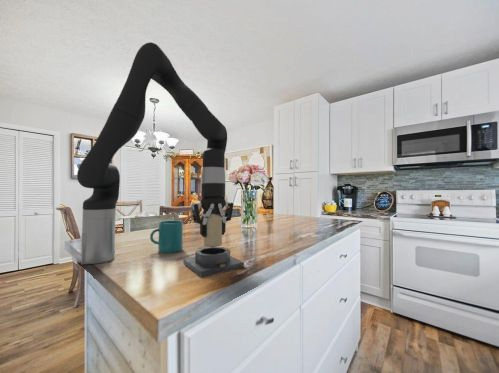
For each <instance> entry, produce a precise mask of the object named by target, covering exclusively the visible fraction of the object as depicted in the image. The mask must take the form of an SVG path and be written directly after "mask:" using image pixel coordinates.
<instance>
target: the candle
mask: <svg viewBox="0 0 499 373" xmlns="http://www.w3.org/2000/svg"><path fill="white" fill-rule="evenodd" d="M206 225H207V236H206V237H203V246H205V247H206V248H208V247H222V244H223V235H222V217H221V216H220V215H219V214H211V215H210V217H209V218H208V220H207V222H206Z"/></svg>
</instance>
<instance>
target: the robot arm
mask: <svg viewBox="0 0 499 373" xmlns="http://www.w3.org/2000/svg"><path fill="white" fill-rule="evenodd" d="M133 59H134V60H133V62H132V65H131V68H130V69H129V73H128V75H127V79H126V81H125V82H124V85H123V88H122V89H121V92H120V94H119V95H118V98H117V99H116V102H115V104H114V105H113V107H112V109H111V110H110V113H109V114H108V116H107V119H106V122H105V124H104V126H103V127H102V129H101V130H100V133H99V134H98V137H97V139H96V140H95V142H94V144H93V145H92V147H91V148H90V150H89V151H88V153H87V154H86V155H85V157H84V158H83V160H82V162H81V164H80V165H79V166H78V170H77V174H76V178H77V182H78V183H79V185H81V187H83V188H86V189H93V190H92V194H91V195H90V196H89V197H88V198H87V199H85V200H84V201H83V202H82V225H81V226H82V227H81V247H80V248H81V253H80V256H81V257H80V265H82V266H83V265H93V264H94V265H95V264H102V263H106V262H109V261H112V260H114V259H115V258H116V257H115V253H116V251H115V250H116V247H115V246H116V214H117V213H116V210H117V209H116V208H117V207H116V206H117V203H118V200H119V196H120V184H121V183H120V182H121V177H120V176H121V174H120V171H119V169H118V167H117V166H116V165H114V164H112V163H111V162H112V160H113V158H114V156H115V155H116V153H117V152H118V151H119V150H120V149H121V148H122V147H123V146H125V145H126V144H127V143H129V142H130V141H131V140H132V139H133V138H134V137H135V136H136V135H137V133H138V131H139V129H140V127H141V126H142V123H143V121H144V119H145V115H146V97H147V95H146V94H147V89H148V86H149V85H150V82H151V80H153V81H154V82H155V83H157V84H158V85H159V86H161V87H162V88H163V90H165V91H167V93H168V94H169V95H170V96H171V97H172V99H173V100H174V102H175V104H176V105H177V106H178V108H179V109H180V110H181V111H182V113H183V114H184V115H185V116H186V118H188V119H189V120H190V121H191V122H192V124H193V126H194V127H195V129H196V130H197V132H198V133H199V135H201V137H203V139H205V140H207V145H206V149H205V150H203V152H202V164H201V165H202V166H201V167H202V170H201V185H200V186H201V187H200V190H201V192H200V194H201V195H200V197H201V199H200V201H199V202H196V203H191V206H190V208H191V211H192V219H193V222H194V223H196V224H198V225H199V234H200V236H201V237H203V238H204V237H206V236H207V225H206V222H207V220H208V218H209V217H210V215H211V214H219V215H220V216H221V217H222V236H224V235H225V233H226V227H227V226H226V225H227V222H229V221H231V220H232V216H233V208H234V203H233V202H229V201H228V202H227V201H226V199H225V197H226V170H225V167H226V165H225V163H226V162H225V161H226V158H225V157H226V156H225V154H226V149H227V144H228V131H227V128H226V126H225V125H224V124H223V123H222V122H221V121H220V120H219V119H218V117H216V116H215V115H214V114H213V113H212V112H211V111H210V110H209V108H208V107H207V105H206V104H205V103H204V102H203V100H202V98H200V97H199V96H198V95H197V94H196V92H194V91H193V90H192V89H191V88H190V87H189V86H188V85H187V84H185V82H184V81H183V80H182V79H181V77H180V76H179V74H178V73H177V71H176V69H175V67H174V66H173V64H172V62H171V60H170V59H169V57H168V56H167V55H166V54H165V52H164V50H162V48H161V47H160V46H159V45H158V44H156V43H154V42H146V43H144V44H142V46H140V47H139V49H138V50H137V52H136V54H135V57H134V58H133ZM201 208H202V212H201V213H200V209H201ZM224 208H225V211H224Z"/></svg>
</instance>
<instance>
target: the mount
mask: <svg viewBox="0 0 499 373" xmlns="http://www.w3.org/2000/svg"><path fill="white" fill-rule="evenodd" d="M182 263H183V265H185V267H187V268H188V269H190V270H191V271H192V272H194V274H197V275H198V276H199V277H200V278H204V277H208V276H213V275H217V274H220V273H225V272H228V271H233V270H237V269H241V268H245V262H244V261H242V260H240V259H238V258H236V257H233V256H231V249H228V248H226V247H222V246H217V247H203V248H201V247H200V248H199V249H197V250H196V251H195V254H194V256H193V257H186V258H183V262H182Z"/></svg>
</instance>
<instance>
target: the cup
mask: <svg viewBox="0 0 499 373" xmlns="http://www.w3.org/2000/svg"><path fill="white" fill-rule="evenodd" d="M157 232H158V239H157V240H158V241H156V240H155V239H154V234H155V233H157ZM149 236H150V237H149V239H150V241H151V242H152V244H155V245H157V246H158V248H157V249H158V252H159V253H161V254H174V253H179V252H181V251H182V250H183V247H184V246H183V245H184V238H183V237H184V222H183V221H181V220H164V221H159V222H158V228H156V229H154V230H152V231H151V233H150V235H149Z"/></svg>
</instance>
